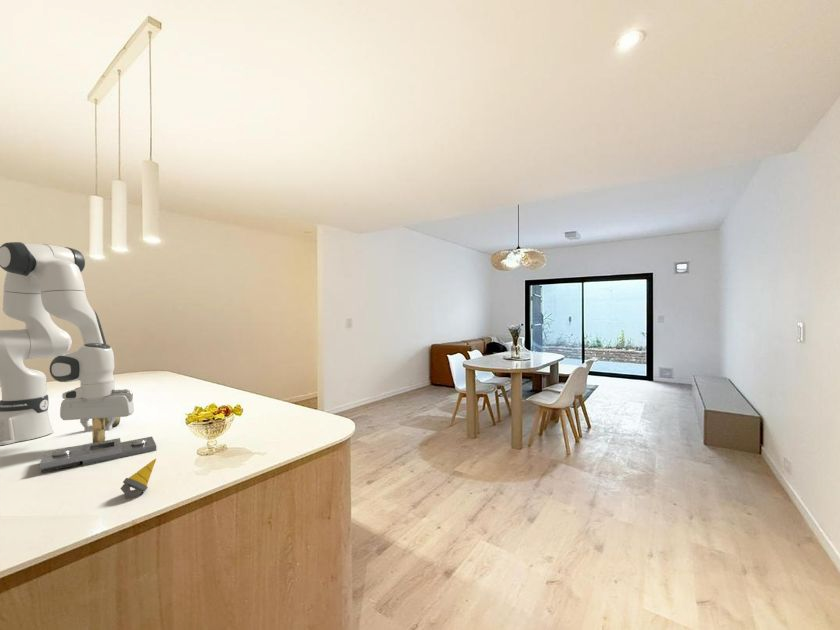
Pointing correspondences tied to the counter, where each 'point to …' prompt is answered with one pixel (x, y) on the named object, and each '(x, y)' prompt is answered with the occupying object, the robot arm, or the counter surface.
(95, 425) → the brass pin
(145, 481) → the yellow pointed cone
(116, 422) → the fennel bulb
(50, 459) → the gray mounting plate
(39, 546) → the counter surface
